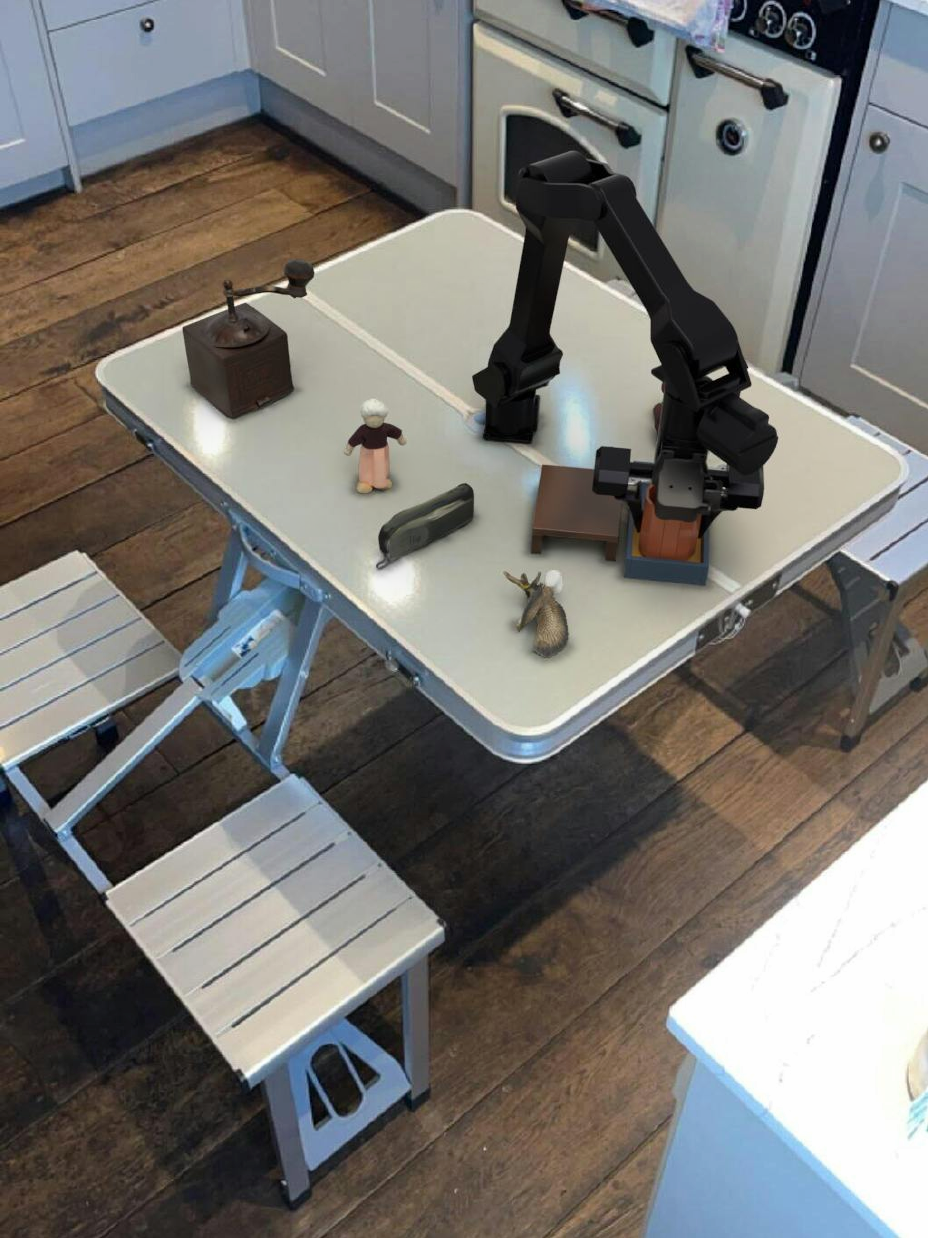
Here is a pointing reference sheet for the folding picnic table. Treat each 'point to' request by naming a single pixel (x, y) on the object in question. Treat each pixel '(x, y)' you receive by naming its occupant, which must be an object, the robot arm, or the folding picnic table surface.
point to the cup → (666, 533)
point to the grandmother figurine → (374, 446)
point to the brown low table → (574, 509)
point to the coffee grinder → (243, 349)
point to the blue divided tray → (664, 568)
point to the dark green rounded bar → (425, 522)
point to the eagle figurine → (544, 612)
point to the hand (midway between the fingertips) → (668, 533)
